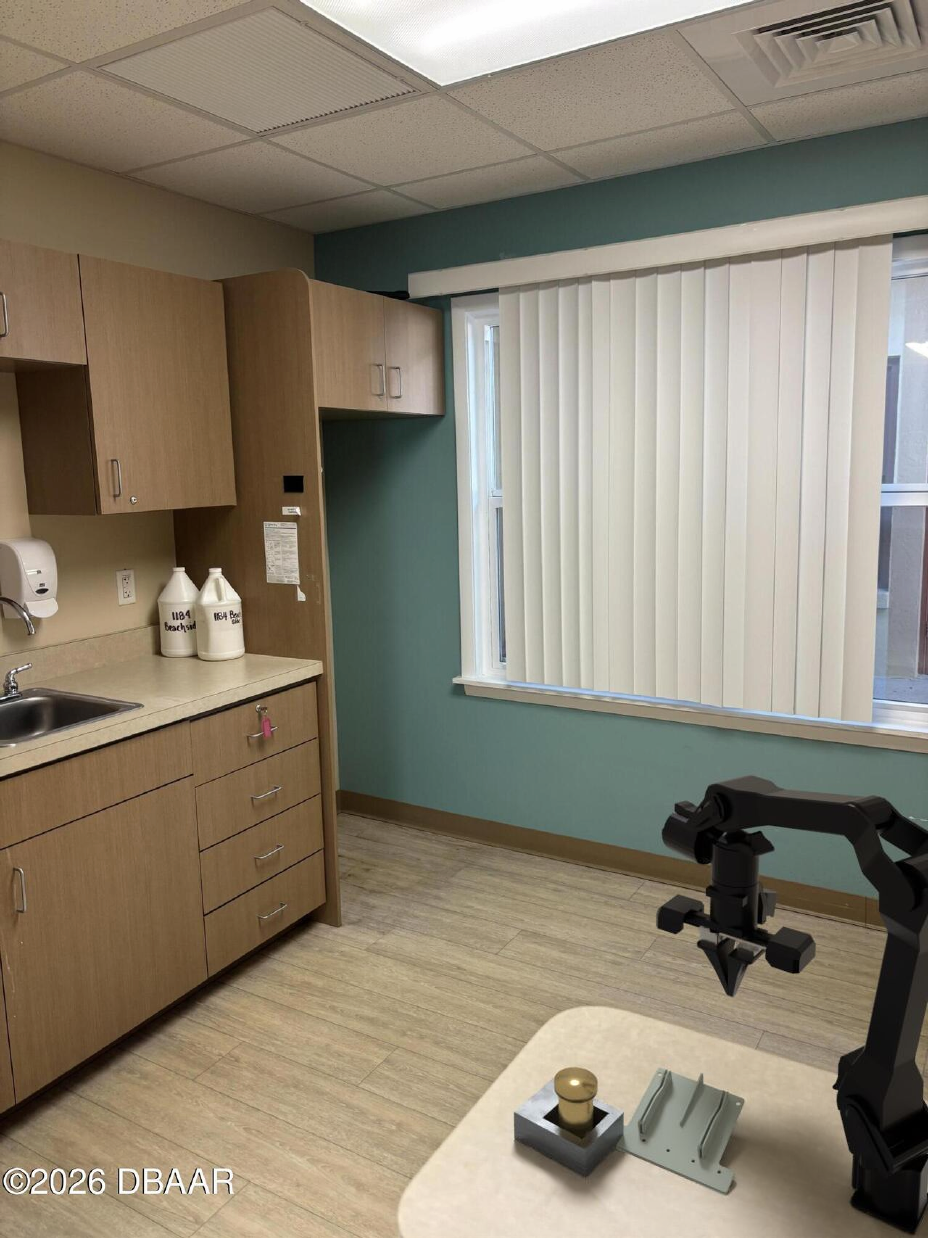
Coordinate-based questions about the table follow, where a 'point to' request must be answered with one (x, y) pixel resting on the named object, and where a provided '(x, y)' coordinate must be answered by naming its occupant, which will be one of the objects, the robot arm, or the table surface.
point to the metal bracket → (684, 1128)
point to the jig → (544, 1135)
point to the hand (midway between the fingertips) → (731, 995)
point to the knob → (576, 1099)
